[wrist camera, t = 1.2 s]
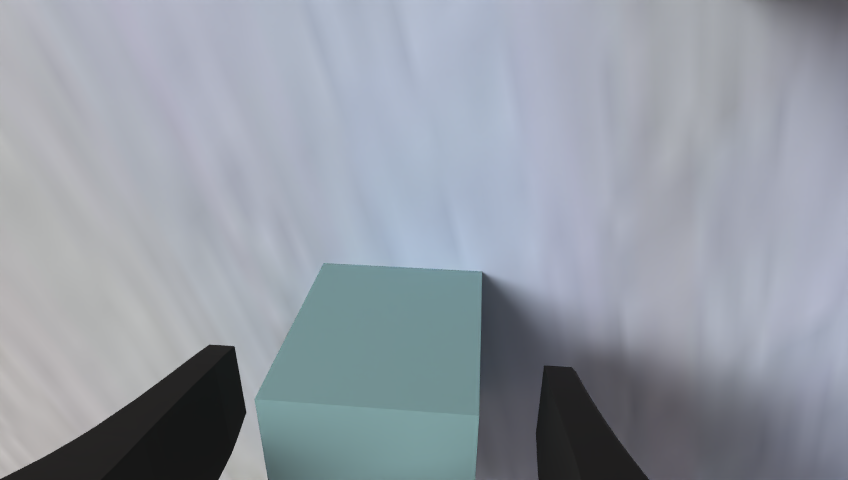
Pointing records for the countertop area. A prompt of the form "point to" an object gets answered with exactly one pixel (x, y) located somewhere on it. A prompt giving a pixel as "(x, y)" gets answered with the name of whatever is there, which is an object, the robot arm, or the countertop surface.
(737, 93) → the countertop surface
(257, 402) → the teal block
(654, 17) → the countertop surface
